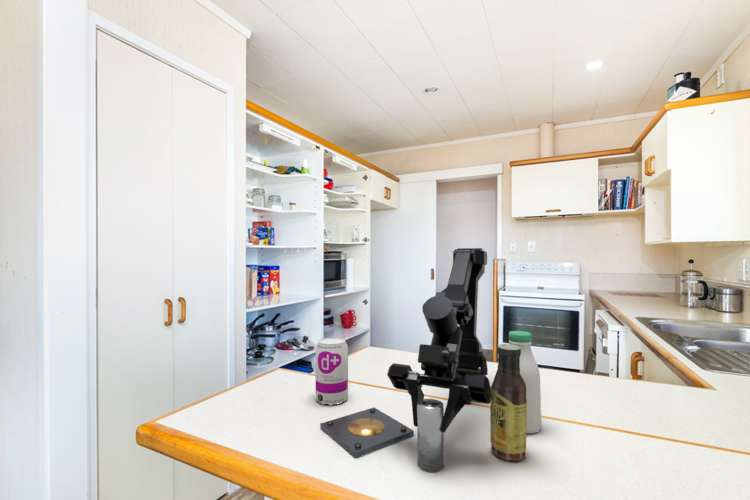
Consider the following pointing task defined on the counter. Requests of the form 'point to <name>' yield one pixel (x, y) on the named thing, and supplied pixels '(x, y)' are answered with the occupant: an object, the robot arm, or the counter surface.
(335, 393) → the supplement can
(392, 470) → the counter surface
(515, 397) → the sauce bottle
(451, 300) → the robot arm
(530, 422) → the milk bottle
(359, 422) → the flange plate
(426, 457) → the sleeve
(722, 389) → the counter surface
